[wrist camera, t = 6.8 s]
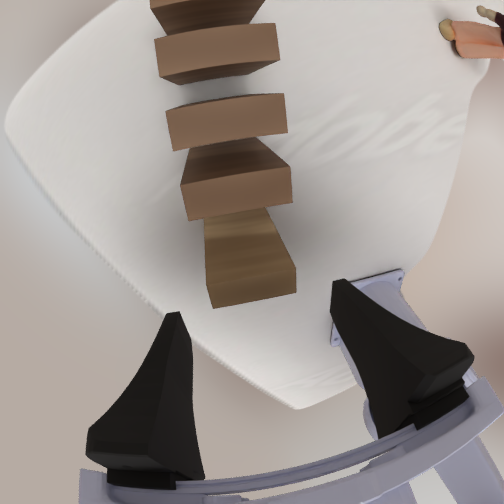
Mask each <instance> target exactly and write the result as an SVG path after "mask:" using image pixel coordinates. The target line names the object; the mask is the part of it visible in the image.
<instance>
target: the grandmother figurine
mask: <svg viewBox="0 0 504 504" xmlns="http://www.w3.org/2000/svg"><path fill="white" fill-rule="evenodd" d="M477 12H478V14H479V15H480V16H482V17H487V18H488V19H489V20H491V21H493V22H495V23H497V24H498V25H499V26H500V27H492V26H489V25H485V24H480V23H477V22H470V21H452V20H450V19H446V20H444V21H443V22H441V23H440V25H439V28H440V31H441V33H442V35H443V36H444V38H445V39H447V40H448V41H452V40H453V39H454V40H456V43H455V47H456V50H457V52H458V54H459V55H460V56H461V57H462V58H497V59H504V15H502V14H501V13H499V12H495V11H493V10H491V9H486V8H485V7H483V6H477Z"/></svg>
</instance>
